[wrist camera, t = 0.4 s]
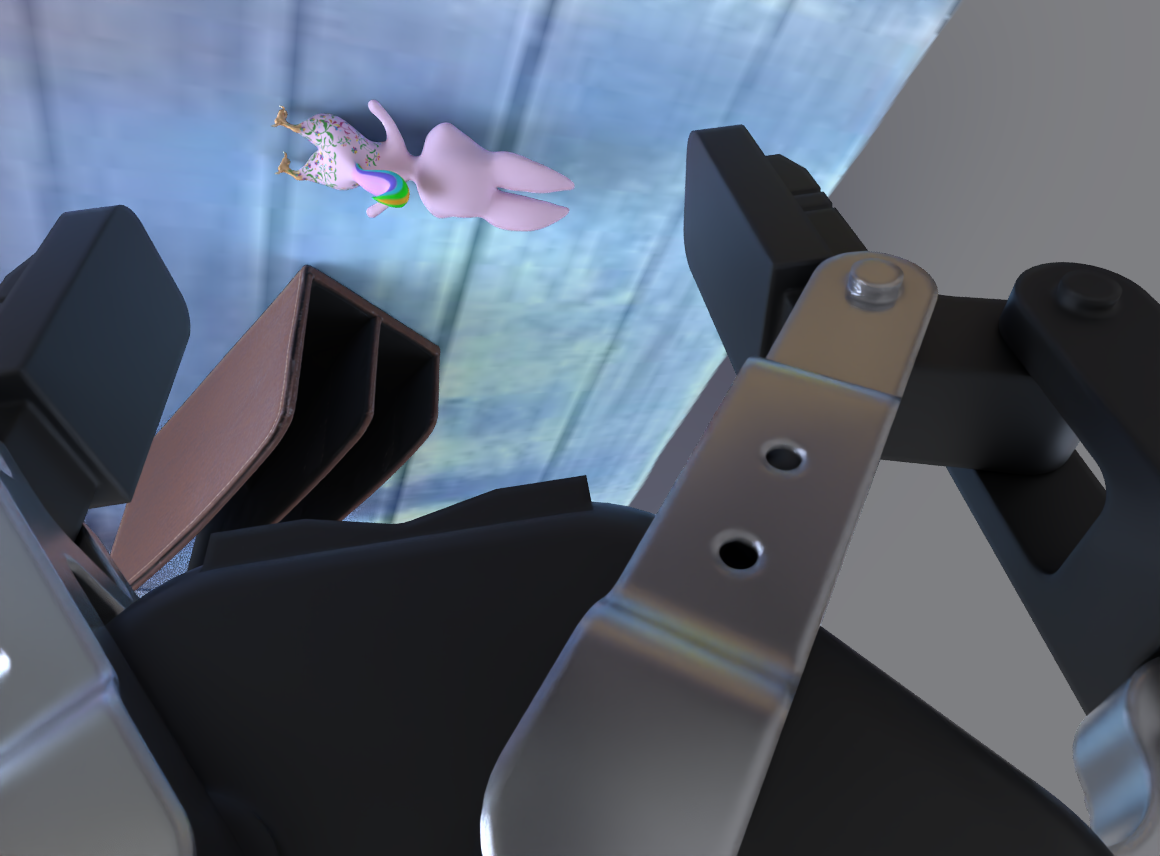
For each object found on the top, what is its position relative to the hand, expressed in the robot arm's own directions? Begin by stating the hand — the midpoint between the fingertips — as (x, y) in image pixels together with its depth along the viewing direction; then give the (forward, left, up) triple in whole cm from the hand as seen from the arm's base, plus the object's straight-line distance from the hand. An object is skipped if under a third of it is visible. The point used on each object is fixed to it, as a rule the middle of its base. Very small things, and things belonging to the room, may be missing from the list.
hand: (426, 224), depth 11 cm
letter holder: (+27, -16, -29) cm, 42 cm away
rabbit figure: (+12, -3, -29) cm, 31 cm away
